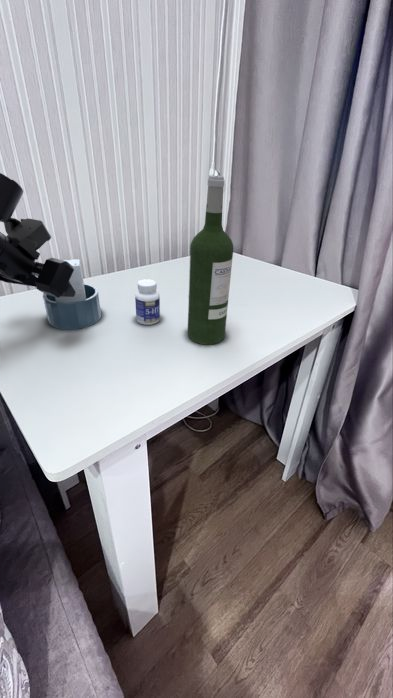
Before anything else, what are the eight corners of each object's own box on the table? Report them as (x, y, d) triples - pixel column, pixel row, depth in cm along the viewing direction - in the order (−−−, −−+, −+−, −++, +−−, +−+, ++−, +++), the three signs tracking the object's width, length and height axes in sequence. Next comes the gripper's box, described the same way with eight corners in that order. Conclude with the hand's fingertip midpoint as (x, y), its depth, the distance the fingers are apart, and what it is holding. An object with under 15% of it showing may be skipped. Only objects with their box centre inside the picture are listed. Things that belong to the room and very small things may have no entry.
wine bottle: (220, 348, 66) (236, 180, 50) (182, 341, 68) (186, 177, 51) (227, 329, 73) (243, 176, 56) (193, 324, 74) (199, 173, 58)
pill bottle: (147, 327, 72) (145, 289, 67) (131, 319, 75) (129, 282, 70) (164, 319, 75) (164, 282, 70) (149, 312, 78) (147, 276, 73)
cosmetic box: (88, 309, 77) (80, 258, 70) (88, 318, 73) (80, 265, 67) (60, 312, 75) (49, 260, 69) (59, 320, 72) (48, 267, 65)
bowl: (68, 335, 68) (63, 308, 65) (38, 318, 73) (32, 293, 70) (111, 316, 76) (108, 292, 72) (80, 302, 81) (77, 279, 78)
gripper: (55, 212, 51) (109, 263, 66) (-23, 198, 58) (41, 247, 72) (23, 275, 49) (86, 314, 64) (-53, 254, 56) (19, 293, 71)
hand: (57, 289), depth 68 cm, fingers open, 9 cm apart
